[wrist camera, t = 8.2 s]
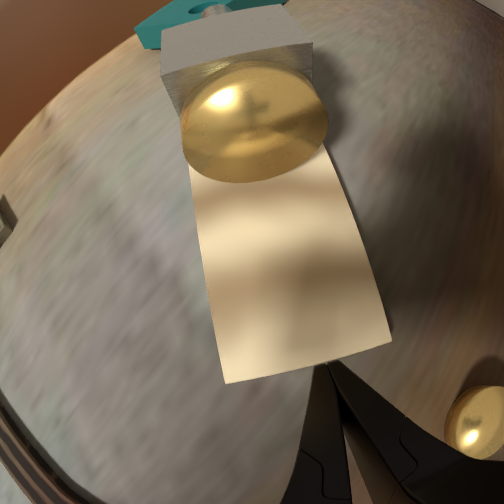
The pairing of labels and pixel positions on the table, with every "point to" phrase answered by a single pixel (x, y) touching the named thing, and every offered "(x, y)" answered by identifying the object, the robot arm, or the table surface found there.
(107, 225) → the table surface
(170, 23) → the teal saddle bracket
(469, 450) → the spacer
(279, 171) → the shaft
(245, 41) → the bearing block
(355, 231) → the board
